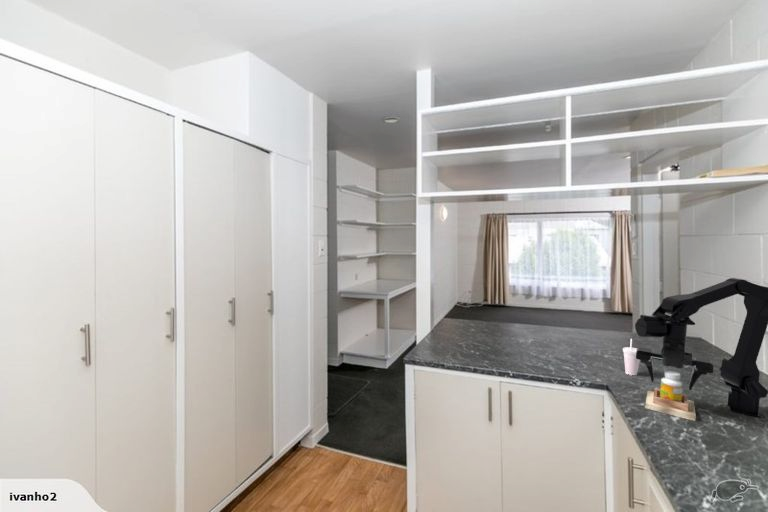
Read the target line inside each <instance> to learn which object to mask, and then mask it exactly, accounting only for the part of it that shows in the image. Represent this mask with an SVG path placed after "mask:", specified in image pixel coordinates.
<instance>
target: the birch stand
mask: <svg viewBox="0 0 768 512" xmlns="http://www.w3.org/2000/svg"><path fill="white" fill-rule="evenodd" d="M660 390H661V388H657V387H656V388H654V390H653V391H652V390H647V393H646V398H645V399H646V400H645V408H644V409H647V410H652V411H654V412H655V411H656V412H659V413H663V414H666V415H671V416H675V417H679V418H683V419H687V420H689V421H694V422H696V416H697V415H696V407H695V401H694V400H690V399H688V395H687V394H683V393H682V403H680V402H676V401H672V400H667V399H663V398H660Z"/></svg>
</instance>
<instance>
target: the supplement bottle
mask: <svg viewBox="0 0 768 512" xmlns="http://www.w3.org/2000/svg"><path fill="white" fill-rule="evenodd" d="M663 372H664V373H663V374H664V376H663V377H662V378H661V379H660V389H661V390H660V398H663V399H667V400H672V401H676V402H680V403H682V394H683V386H684V383H683V381H682V380H681V376H682V375H681V373H680V372H677V371H674V370H670V369H669V370H664V371H663Z"/></svg>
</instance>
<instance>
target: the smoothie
mask: <svg viewBox="0 0 768 512" xmlns="http://www.w3.org/2000/svg"><path fill="white" fill-rule="evenodd" d="M629 344H630V345H629V346H625V347H622V352H623V357H624V358H623V360H624V370H625V371H624V372H625V374H626V375H628V374H629V376H632V375H636V376H637V375H638V370H639V367H640V363H641V360H639V359H636V351H637V348H636V347H633V338H630V342H629Z"/></svg>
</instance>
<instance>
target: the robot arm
mask: <svg viewBox="0 0 768 512" xmlns="http://www.w3.org/2000/svg"><path fill="white" fill-rule="evenodd" d="M736 295H740V296H742V297H743V306H745V310H746V315H745V317H744V322H743V325H742V329H741V331H740V335H739V339H738V341H737V345H736V347H735V351H734V354H733V356H731V357H730V358H729V359H726V358H723V359H722V360H721V366H720V367H719V369H718V371H719V372H720V377H721V378H722V380H723V381H724V384H725V385H726V386H727V387H729V390H728V391H727V394H726V406H727V407H728V408H729V410H730V411H731V412H736V413H739V414H744V415H748V416H753V417H757V418H760V417H761V415H760V413H759V409H760V399H762V398H764V399H765V398H766V397H767V395H768V389H767V388H766V387H764V386H763V385H762V383H761V382H760V369H759V367H758V365H757V360H758V357H759V354H760V350H761V347H762V344H763V341H764V338H765V335H766V332H767V328H768V286H764V285H760V284H756V283H753V282H750V281H748V280H747V279H741V278H734V277H730V278H727V279H726V280H723V281H722V282H719V283H717V284H714V285H710V286H708V287H705V288H702V289H699V290H697V291H695V292H691V293H687V294H686V293H685V294H676V295H669V296H666V297H665V298H663V299H662V301H661V304H660V305H659V306H658V307H657V308H656V309H655V311H654V312H652V314H651V315H647V314H640V317H639V318H638V319H637V320H636V322H635V324H634V327H635V332H636V334H637V335H638V336H639V337H640V338H641V337H642V338H662V340H661V341H662V343H661V351H660V352H661V353H657V352H654V351H653V349H652V348H646V347H643V346H642V347H641V346H639V347H637V348H636V349H637V351H636V359H639V360H640V363H643V364H644V365H645V366H646V368H647V370H648V374H649V377H650V380H651V382H652V383H654V380H655V373H654V361H653V360H658V361H662V365H663V366H665V367H672V368H676V369H683V368H684V365H685V366H691V367H692V369H691V375H690V379H689V381H688V382H689V384H688V391H692V389H693V387H694V385H695V384H696V382H697V380H699V378H700V377H701V376H702V375H703V376H706V375H707V374H714V363H713V361H712V360H711V359H710V358H704V357H698V356H695V357H694V359H693V353H691V352H688V351H687V352H686V347H687V345H686V344H687V333H688V332H687V331H688V326H695V325H696V323H695V322H694V321H693V320H692V318H690V317H691V316H693V315H695V314H697V313H698V312H699V310H700V309H701V308H703V307H705V306H708V305H710V304H713V303H716V302H719V301H721V300H725V299H728V298H729V297H732V296H736Z"/></svg>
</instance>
